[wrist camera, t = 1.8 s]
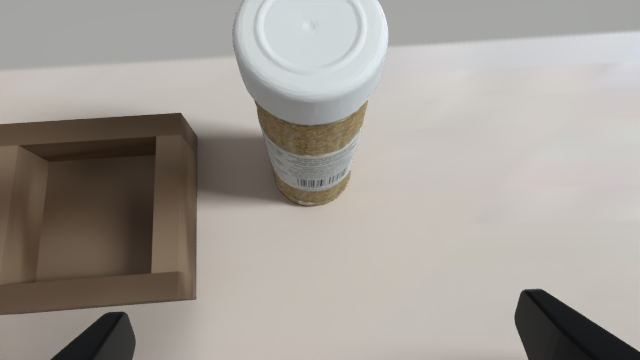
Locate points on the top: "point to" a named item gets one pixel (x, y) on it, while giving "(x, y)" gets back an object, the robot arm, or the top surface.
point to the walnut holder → (97, 213)
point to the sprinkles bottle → (310, 85)
